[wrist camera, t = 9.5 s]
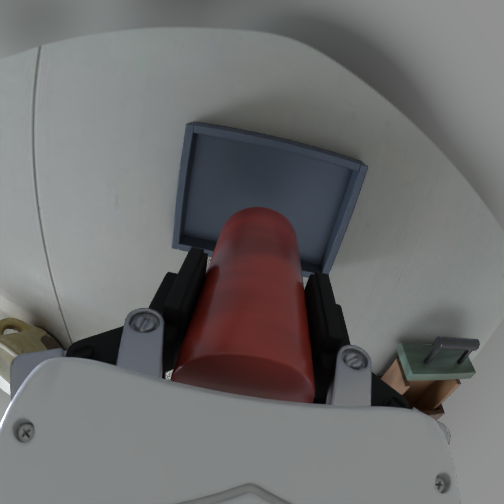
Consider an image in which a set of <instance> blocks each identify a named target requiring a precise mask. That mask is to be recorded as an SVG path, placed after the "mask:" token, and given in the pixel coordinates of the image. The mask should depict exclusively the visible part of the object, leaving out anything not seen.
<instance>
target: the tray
mask: <svg viewBox="0 0 504 504" xmlns="http://www.w3.org/2000/svg"><path fill="white" fill-rule="evenodd" d="M367 169H368V166H367V165H365V164H364V163H363V162H362V161H360V160H357V159H354V158H351V157H348V156H344V155H341V154H338V153H335V152H331V151H328V150H324V149H321V148H317V147H314V146H310V145H306V144H302V143H299V142H295V141H291V140H287V139H282V138H278V137H274V136H270V135H265V134H261V133H256V132H251V131H246V130H241V129H236V128H231V127H225V126H219V125H213V124H207V123H201V122H191V123H188V124H186V130H185V136H184V143H183V149H182V156H181V164H180V171H179V179H178V188H177V196H176V206H175V216H174V227H173V238H172V248H174V249H179V250H183V251H187V252H189V251H190V249H191V247H195V248H200V249H204V253H208V256H210V257H212V255H213V252H214V249H215V247H216V244H217V241H218V238H219V236H220V233H221V230H222V228H223V226H224V224H225V223H226V221H227V220H228V219H229V218H230V217H231V216H232V215H234V214H235V213H237V212H238V211H240V210H243V209H246V208H250V207H264V208H269V209H272V210H275V211H277V212H279V213H281V214H282V215H283V216H285V217H286V218H287V219H288V220H289V221H290V223H291V224H292V226H293V227H294V230H295V232H296V236H297V242H298V248H299V255H300V262H301V269H302V276H303V277H308V278H309V276H310V274H314V273H315V272H321V273H326V274H328V275H329V272H330V270H331V267H332V265H333V262H334V260H335V257H336V255H337V252H338V250H339V247H340V245H341V242H342V240H343V237H344V234H345V232H346V229H347V226H348V224H349V221H350V218H351V216H352V213H353V210H354V207H355V204H356V202H357V199H358V196H359V193H360V190H361V187H362V184H363V181H364V178H365V175H366V172H367Z"/></svg>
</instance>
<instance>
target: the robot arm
mask: <svg viewBox="0 0 504 504" xmlns="http://www.w3.org/2000/svg"><path fill="white" fill-rule="evenodd" d="M207 259H208V253H204V249H200V248H195V247H191V249H190V251H189V253H188V255H187V257H186V259H185V261H184V263H183V265H182V267H181V269H180V271H179V273H178V274H176V273H172V272H167V274H166V276H165V277H164V279H163V281H162V283H161V285H160V287H159V289H158V291H157V293H156V294H155V296H154V298H153V300H152V302H151V304H150V306H149V308H139V309H135V310H133V311H132V312H130V313H129V314H128V315H127V317H126V319H125V323H124V326H122V327H119V328H116V329H113V330H110V331H107V332H104V333H101V334H98V335H94V336H91V337H88V338H85V339H82V340H79V341H76V342H74V343H73V344H72V345H70V346H69V348H68V350H64V351H63V350H62V348H58V349H52V350H45V351H39V352H32V353H25V354H20V355H18V356H16V357H15V358H14V359H13V360H12V362H11V365H10V390H11V403H10V405H9V407H8V409H7V411H6V413H5V415H4V417H3V419H2V421H1V423H0V504H461V501H460V493H459V487H458V481H457V476H456V471H455V466H454V462H453V458H452V455H451V451H450V448H449V442H450V436H451V435H450V431H449V429H448V428H447V427H446V426H445V425H444V424H443V423H441V422H439V421H437V420H435V419H434V418H432V417H430V416H428V415H426V414H425V413H423V412H421V411H419V410H418V409H416V408H414V407H413V408H412V409H410V406H409V403H408V401H407V400H406V399H405V398H404V397H403V396H402V395H401V394H400V393H398V392H397V391H396V390H395V389H393V388H392V387H391V386H389V385H388V384H387V383H386V382H384V381H383V380H382V379H380V378H379V377H378V376H377V375H375V374H374V373H373V372H371V358H370V357H369V355H368V354H367V352H366V351H365V350H363V349H362V348H360V347H358V346H355V345H350V341H349V336H348V332H347V328H346V324H345V320H344V316H343V312H342V308H341V306H340V305H338V304H336V302H335V298H334V294H333V290H332V286H331V283H330V279H329V275H328V274H326V273H321V272H315V273H314V274H310V276H309V279H308V282H307V284H306V287H305V290H304V292H305V299H306V307H307V316H308V324H309V333H310V342H311V351H312V361H313V372H314V383H315V397H314V400H313V402H312V403H301V402H290V401H281V400H273V399H265V398H258V397H251V396H244V395H238V394H232V393H226V392H221V391H216V390H210V389H205V388H201V387H196V386H191V385H187V384H182V383H178V382H174V381H170V380H166V372H168V371H170V370H172V369H174V367H175V363H176V360H177V357H178V354H179V351H180V348H181V345H182V342H183V339H184V336H185V333H186V330H187V327H188V324H189V321H190V318H191V315H192V312H193V309H194V306H195V303H196V300H197V297H198V294H199V292H200V289H201V286H202V283H203V280H204V277H205V274H206V267H207Z"/></svg>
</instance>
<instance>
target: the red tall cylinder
mask: <svg viewBox="0 0 504 504" xmlns="http://www.w3.org/2000/svg"><path fill="white" fill-rule="evenodd" d="M171 381H174V382H178V383H182V384H187V385H191V386H196V387H201V388H205V389H210V390H216V391H221V392H226V393H232V394H238V395H244V396H251V397H258V398H265V399H273V400H281V401H290V402H301V403H312V402H313V400H314V397H315V383H314V372H313V361H312V351H311V342H310V333H309V324H308V316H307V307H306V299H305V292H304V284H303V277H302V269H301V262H300V255H299V248H298V242H297V236H296V232H295V230H294V227H293V226H292V224H291V223H290V221H289V220H288V219H287V218H286V217H285V216H283V215H282V214H281V213H279V212H277V211H275V210H272V209H269V208H264V207H250V208H246V209H243V210H240V211H238V212H237V213H235V214H234V215H232V216H231V217H230V218H229V219H228V220H227V221H226V223H225V224H224V226H223V228H222V230H221V233H220V236H219V238H218V241H217V244H216V247H215V249H214V252H213V255H212V258H211V260H210V263H209V266H208V269H207V272H206V274H205V277H204V280H203V283H202V286H201V289H200V292H199V294H198V297H197V300H196V303H195V306H194V309H193V312H192V315H191V318H190V321H189V324H188V327H187V330H186V333H185V336H184V339H183V342H182V345H181V348H180V351H179V354H178V357H177V360H176V363H175V367H174V370H173V373H172V376H171Z"/></svg>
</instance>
